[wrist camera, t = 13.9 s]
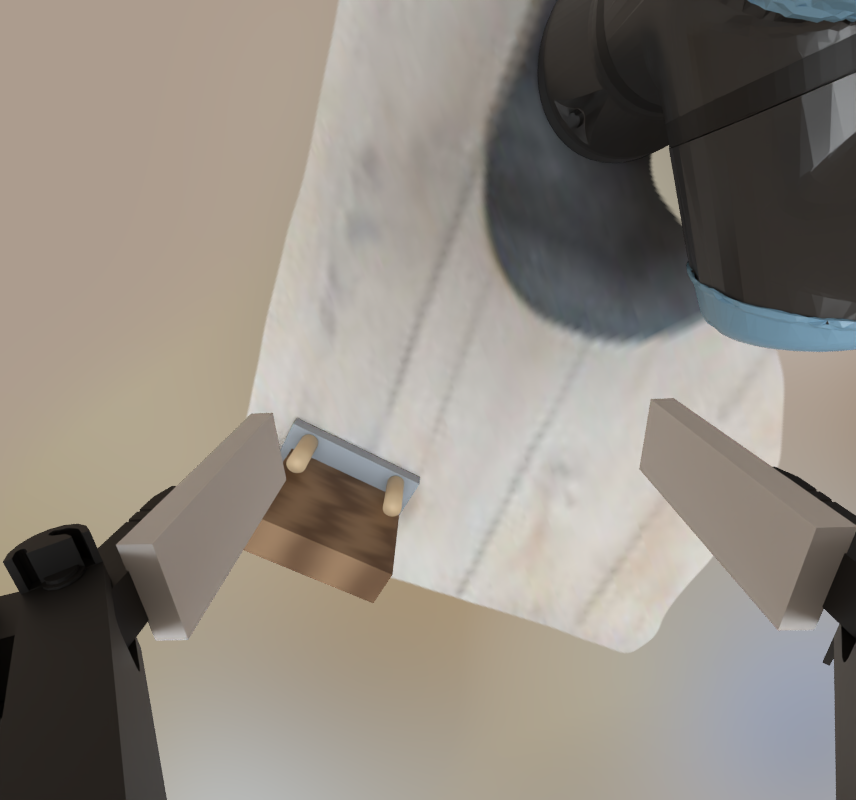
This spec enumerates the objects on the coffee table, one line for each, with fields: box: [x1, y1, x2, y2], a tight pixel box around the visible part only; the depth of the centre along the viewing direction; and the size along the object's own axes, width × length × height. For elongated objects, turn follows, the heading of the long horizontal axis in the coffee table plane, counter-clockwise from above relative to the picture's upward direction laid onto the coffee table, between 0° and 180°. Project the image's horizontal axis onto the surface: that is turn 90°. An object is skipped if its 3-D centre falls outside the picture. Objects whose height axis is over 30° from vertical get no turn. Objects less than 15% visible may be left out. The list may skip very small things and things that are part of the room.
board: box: [243, 449, 399, 603], centre depth 43 cm, size 14×4×12 cm, turn 61°
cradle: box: [280, 418, 420, 517], centre depth 47 cm, size 16×10×6 cm, turn 61°
